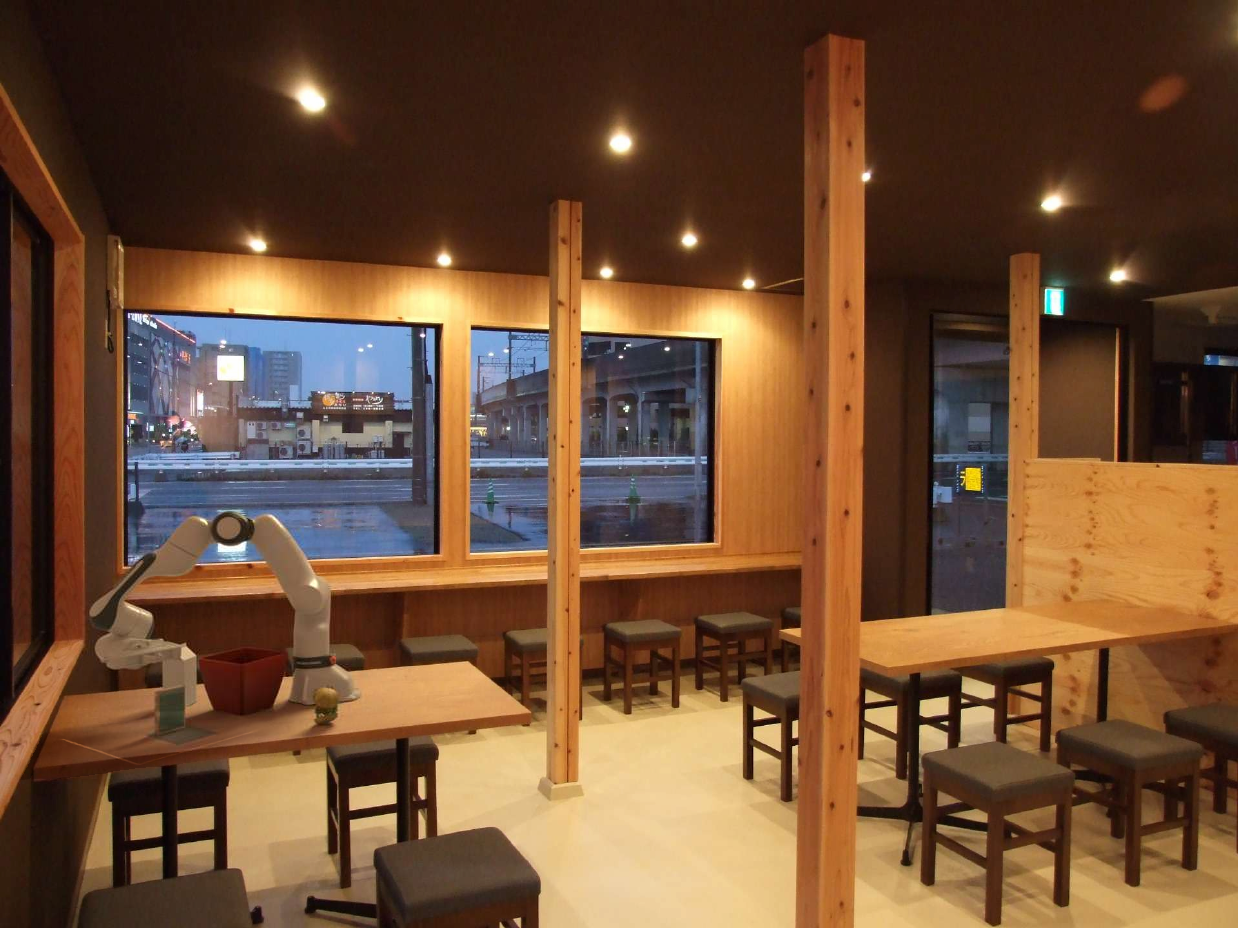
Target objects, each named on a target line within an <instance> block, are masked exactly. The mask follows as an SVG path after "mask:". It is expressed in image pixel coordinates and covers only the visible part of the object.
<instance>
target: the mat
mask: <svg viewBox="0 0 1238 928" xmlns="http://www.w3.org/2000/svg"><path fill="white" fill-rule="evenodd" d="M217 734H219V733H218V732H215V731H212V730H210V729H209V730H208V729H206V728H201V727H197V726H194V725H191V724H187V723H185V728H182V729H178V730H174V731H170V732H167V733H163V734H159V735H158V734H155V731H154V732H152V733H147V734H146V736H148V737H151V738H154V739H158V740H160V741H161V740H162V741H164V742H168V743H171V744H174V745H181V744H186V743H189V742H192V741H196V740H199V739H203V738H206V737H210V736H214V735H217Z"/></svg>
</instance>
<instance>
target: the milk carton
mask: <svg viewBox="0 0 1238 928" xmlns="http://www.w3.org/2000/svg"><path fill="white" fill-rule="evenodd" d="M179 645H180V646H181V649H182V654H181V657H180V658H176V659H170V660H165V661H163V662H162V689H167V688H171V687H176V686H180V685H182V686H185V708H186V707H188V706H190V705H193V704H195V703H197V701H198V700H197V694H198V693H197V689H198V688H197V655H196V653H194V652H193V651H192V650H191V649H190V648H189V647H188V646H187V643H186V642H184V643H182V644H179Z"/></svg>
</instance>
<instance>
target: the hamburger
mask: <svg viewBox="0 0 1238 928" xmlns="http://www.w3.org/2000/svg"><path fill="white" fill-rule="evenodd" d="M313 701H314V703H315V704H314V705H315V706H314V714H315V715H316V717H315V718H314V719H313V722H314V723H315V724H316V725H325V724H329V723H331V722H333V721H334V720H337V718H338V716H339V703H340V702H339V694H338V693H337V691H335V690H334V689H331V688H330V685H329V686H328V687H325V688H320V689H318V690H317V691H316V692H315V693H314V694H313Z"/></svg>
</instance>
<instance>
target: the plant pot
mask: <svg viewBox="0 0 1238 928" xmlns="http://www.w3.org/2000/svg"><path fill="white" fill-rule="evenodd" d="M288 657H289V652H288V651H281V650H274V649H273V650H272V649H264V648H256V647H249V646H245V647H239V648H236V649H232V650H227V651H222V652H219V653H215V654H208V655H205V656H201V657H198V665H199V669H200V670H199V671H200V676H201V678H202V681H203V686H204V689H205V692H206V695H207V698H208V700H209V702H210V705H211V708H212V709H213V711H214V712H220V713H224V714H225V713H226V714H230V715H231V714H232V715H237V716H247V715H250V714H253V713H255V712H258V711H262V710H264V708H265V709H267V708H271V707H273V706H274V705H275V702H276V701H277V700H276V699H277V697H278V694H279V692H280V689H281V686H282V682H283V679H284V675H285V672H286V668H287V662H288Z"/></svg>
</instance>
